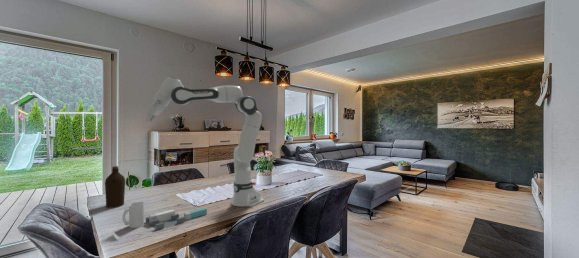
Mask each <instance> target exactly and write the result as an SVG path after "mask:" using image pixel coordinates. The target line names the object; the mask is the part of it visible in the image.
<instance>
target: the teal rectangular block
mask: <svg viewBox="0 0 579 258" xmlns="http://www.w3.org/2000/svg"><path fill="white" fill-rule="evenodd" d="M207 214H208V209H207V208H206V207H202V208H198V209H193V210H190V211H186V212H183V217H185V221H188V220H191V219H195V218H198V217H202V216H206V215H207Z"/></svg>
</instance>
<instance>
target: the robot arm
mask: <svg viewBox="0 0 579 258" xmlns="http://www.w3.org/2000/svg"><path fill="white" fill-rule="evenodd" d="M151 100H152V101H153V102H152V103H151V105H150V106H149V107H148V109H147V111H146V113H147V115H146V118H145V119H144V120H145V122H153V120H154V119H155V118H156V117H159V115H161V113H162V112H163V111H164V109H165V108H167V107H168V106H169V105H170V103H171V101H173V102H174V103H175V104H178V105H179V106H186V105H188V104H189V103H190V102H191V101H201V100H202V101H203V100H207V101H212V102H214V103H217V104H218V103H220V104H222V103H223V104H227V103H233V104H234V105H235V107H236V110H237V111H238V112H239V113H241V114H244V115H245V120H244V123H243V125H242V129H241V132H240V135H239V136H240V137H239V142H238V145H237V146H235V147H234V149H233V167H234V168H233V169H234V177H233V178H234V179H233V180H234V182H233V194H232V195H233V196H232V201H231V205H232V206H234V207H254V206H255V205H257V204H259V203H262V202H264V201H265V199H264V198H263V197H261V196H262V195H261V192H260V191H259V190H258V189H256V188H255V187H254V186H256V184H257V183H256V182H255V181H252V167H251V162H252V161H253V159H254V154H255V149H256V142H257V138H258V135H259V133H260V129H261V125H262V121H263V115H262V113H261V112H260V111H258V108H257V103H256V100H255V98H254V97H252V96H249V95H244V93H243V90H242V87H240V86H238V85H218V86H215V87H214V86H213V87H209V88H199V89H197V88H195V89H190V88H187V87H184V85H183V83H182V81H181V80H180V79H178V78H176V77H174V76H168V77H166V78H165V80H163V82H162V84H161V85H160V87H159V90H158V91H156V93H155V94H154V95H153V97H152V99H151Z"/></svg>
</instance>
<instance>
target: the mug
mask: <svg viewBox="0 0 579 258" xmlns="http://www.w3.org/2000/svg"><path fill="white" fill-rule="evenodd" d="M127 213H128V221H127V220H126V215H127ZM122 221H123V224H124V225H125V226H129V227H128V228H131V229H136V228H140V227H143V226H144V225H145V201H135V202H132V203H129V204H128V208H125V209H124V211H123V213H122Z"/></svg>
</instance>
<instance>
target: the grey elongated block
mask: <svg viewBox="0 0 579 258" xmlns="http://www.w3.org/2000/svg"><path fill="white" fill-rule="evenodd" d="M174 214H176V210H174V209H169V210H165V211H160V212H158V213H152V214H149V215H148V217H149V223H150V221H152V220H155V219H159V222H162V221H166V220H170V219H171V215H174Z"/></svg>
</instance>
